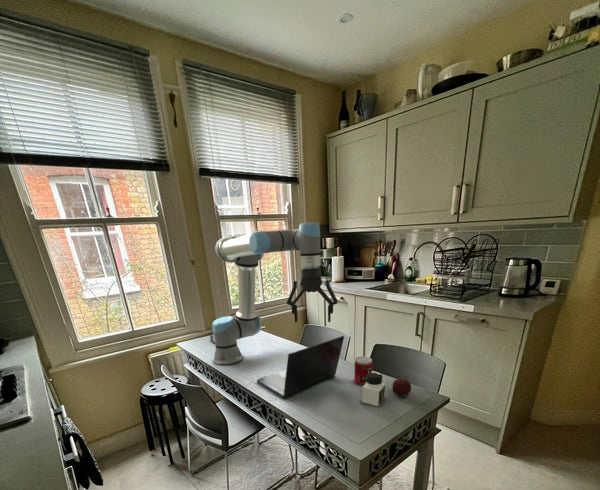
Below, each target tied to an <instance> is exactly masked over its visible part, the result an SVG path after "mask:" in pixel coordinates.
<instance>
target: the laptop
mask: <svg viewBox="0 0 600 490" xmlns="http://www.w3.org/2000/svg"><path fill="white" fill-rule="evenodd" d="M286 370H287V368H285V369H282V370H279V371H276V372H273V373H271V374H268V375H266V376H263V377H260V378H258V379H256V384H258V385H260V386H261V387H263V388H264V389H266V390H268V391H270V392H271V393H273V394H274V395H275V396H278V397H279V398H281V399H283V400H286V399H287V398H289V397H292V396H294V395H297V394H299V393H301V392H304V391H306V390H309V389H310V388H312V387H315V386H317V385H320V384H322V383H324V382H327V381H329V380H331V379H333V378H335V375H334V376H332V377H329V378H327V379H325V380H322V381H320V382H318V383H315V384H313V385H311V386H308V387H306V388H303V389H301V390H299V391H296V392H294V393H292V394H289V395H287V396H285V397H284V396H283V395H284V387H285V378H286Z"/></svg>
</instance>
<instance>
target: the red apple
mask: <svg viewBox="0 0 600 490" xmlns="http://www.w3.org/2000/svg"><path fill="white" fill-rule="evenodd" d="M391 390H392V393H393V394H394V395H395V396H397V397H405V396H407V395H409V394H410V393H411V391H412V385H411V382H410V381H409V380H407V379H406V378H398V379H395V380H394V381H393V382H392V385H391Z"/></svg>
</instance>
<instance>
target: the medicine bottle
mask: <svg viewBox="0 0 600 490" xmlns="http://www.w3.org/2000/svg"><path fill="white" fill-rule="evenodd" d="M361 389H362V390H361V402H362V403H363V404H368V405H371V406H375V407H379V406H380V405H381V404H382V402H383V401H384V399H385V393H386V383H384V382H383V375H382V373H380V372H378V371H372V372H370V373H368V374H367V379H366V384H365V385H362V388H361Z"/></svg>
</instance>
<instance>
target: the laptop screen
mask: <svg viewBox="0 0 600 490" xmlns="http://www.w3.org/2000/svg"><path fill="white" fill-rule="evenodd" d="M344 340H345V335H341V336H338V337H334V338H333V339H329V340H327V341H323V342H319V343H318V344H315V345H311V346H309V347H306V348H302V349H299V350H296V351H293V352H291V353H288V354H287V363H286V369H287V370H286V378H285V387H284V395H283V396H284V397H285V396H287V395H289V394H292V393H294V392H296V391H299V390H301V389H303V388H306V387H308V386H311V385H313V384H315V383H318V382H320V381H322V380H325V379H327V378H329V377H332V376H334V377H335V376H336V374H337V370H338V365H339V360H340V357H341V352H342V348H343V344H344V343H343V342H344Z"/></svg>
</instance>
